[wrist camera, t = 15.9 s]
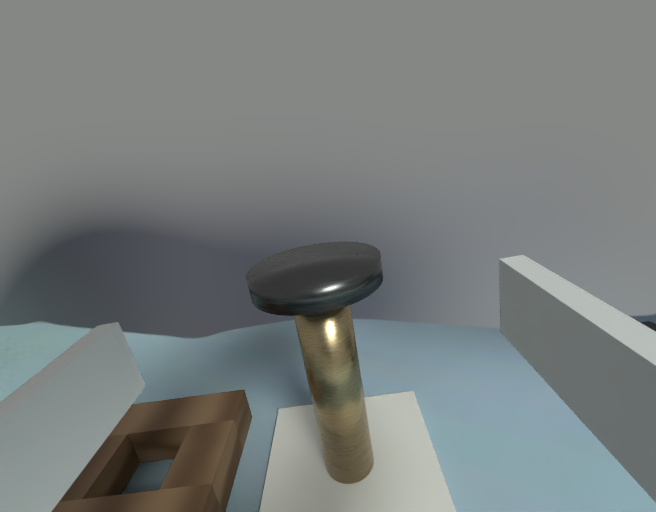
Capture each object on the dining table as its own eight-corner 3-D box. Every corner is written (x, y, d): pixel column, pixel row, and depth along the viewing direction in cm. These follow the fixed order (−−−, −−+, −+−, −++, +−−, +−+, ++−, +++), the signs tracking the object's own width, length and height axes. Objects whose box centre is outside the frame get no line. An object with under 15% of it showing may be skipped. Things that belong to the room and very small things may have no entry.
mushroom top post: (393, 413, 32) (371, 235, 26) (418, 510, 23) (391, 275, 18) (300, 425, 32) (260, 252, 27) (290, 525, 24) (229, 299, 18)
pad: (413, 395, 34) (413, 391, 34) (468, 553, 21) (468, 547, 21) (280, 413, 35) (278, 408, 35) (250, 576, 22) (248, 570, 21)
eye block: (252, 416, 35) (244, 389, 34) (205, 581, 22) (190, 545, 21) (124, 433, 36) (112, 407, 35) (2, 603, 22) (-23, 569, 21)
